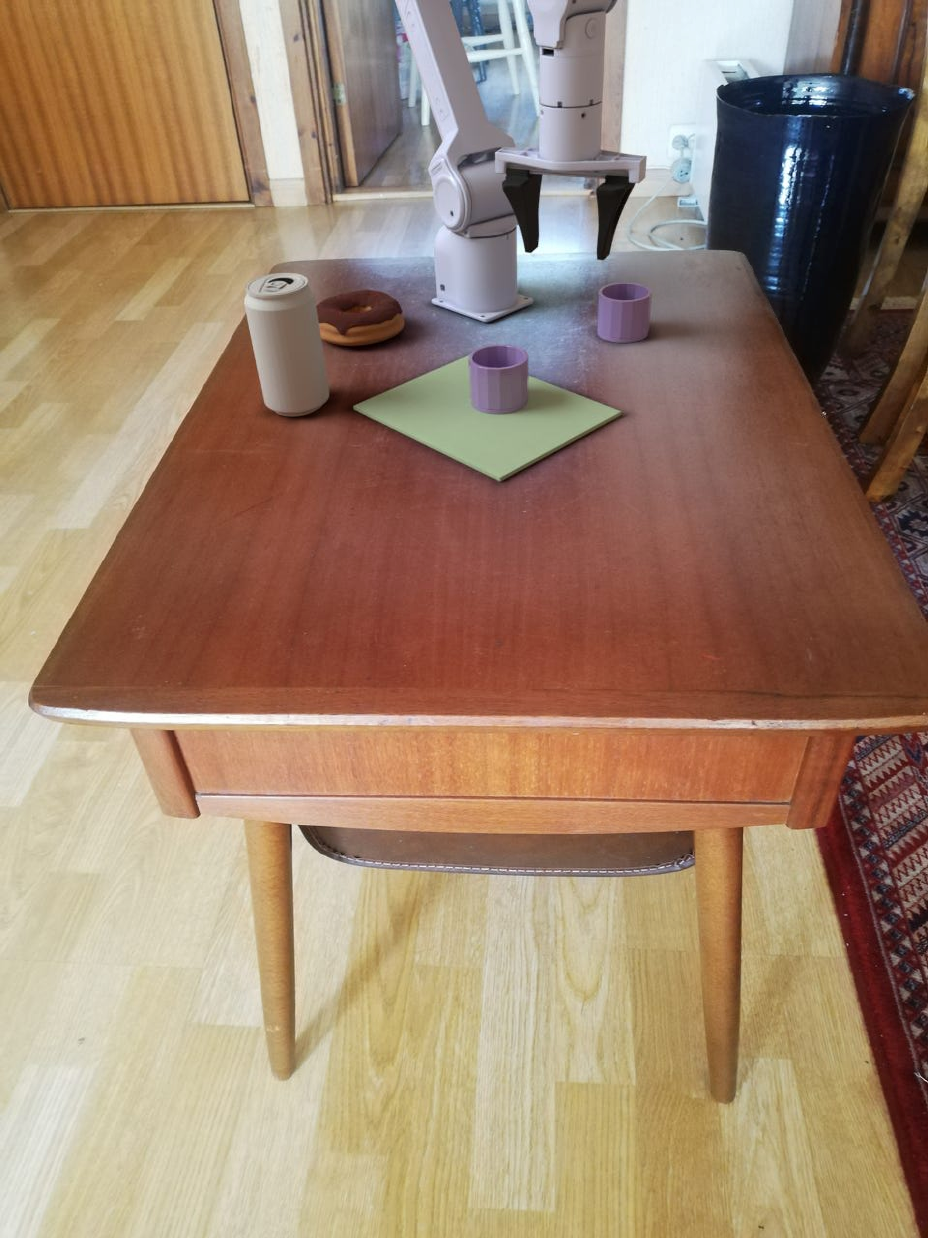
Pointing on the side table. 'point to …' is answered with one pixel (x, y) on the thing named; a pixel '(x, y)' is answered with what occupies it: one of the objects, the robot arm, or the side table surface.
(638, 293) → the faceted lilac cup
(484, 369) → the purple plastic cup
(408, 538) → the side table surface
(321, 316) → the donut
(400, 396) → the placemat
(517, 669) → the side table surface
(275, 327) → the beverage can
